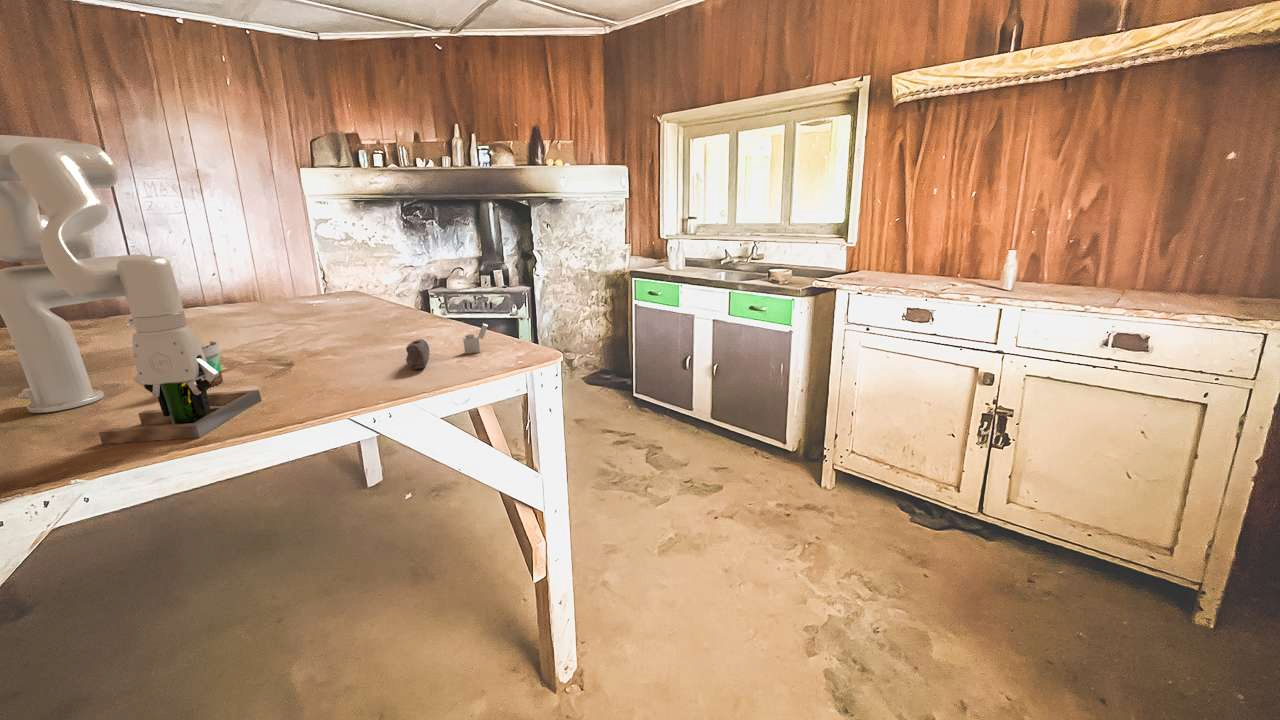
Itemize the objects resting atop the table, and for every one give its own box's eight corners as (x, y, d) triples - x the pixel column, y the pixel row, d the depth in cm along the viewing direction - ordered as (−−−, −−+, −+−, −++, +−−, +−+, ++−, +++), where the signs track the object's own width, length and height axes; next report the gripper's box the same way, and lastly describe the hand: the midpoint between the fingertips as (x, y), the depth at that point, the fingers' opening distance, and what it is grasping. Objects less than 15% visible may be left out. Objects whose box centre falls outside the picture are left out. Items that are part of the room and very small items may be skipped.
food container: (195, 395, 130) (184, 354, 127) (174, 394, 132) (162, 354, 129) (241, 378, 142) (231, 341, 139) (221, 378, 143) (211, 340, 140)
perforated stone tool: (416, 358, 154) (412, 334, 152) (435, 356, 155) (432, 332, 153) (405, 374, 140) (400, 347, 138) (426, 372, 141) (422, 345, 139)
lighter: (465, 353, 156) (461, 326, 154) (465, 352, 158) (461, 325, 156) (490, 351, 158) (487, 323, 156) (490, 349, 160) (487, 322, 157)
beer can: (168, 435, 107) (150, 376, 104) (184, 424, 112) (167, 368, 109) (200, 431, 108) (183, 373, 105) (214, 421, 113) (198, 365, 110)
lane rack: (102, 444, 104) (98, 432, 103) (180, 405, 124) (177, 395, 123) (199, 437, 105) (196, 425, 105) (261, 400, 125) (258, 389, 124)
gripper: (95, 330, 100) (126, 423, 105) (195, 325, 101) (220, 417, 106) (129, 321, 107) (156, 409, 112) (221, 316, 108) (244, 403, 113)
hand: (187, 412), depth 109 cm, fingers closed on beer can, 5 cm apart
